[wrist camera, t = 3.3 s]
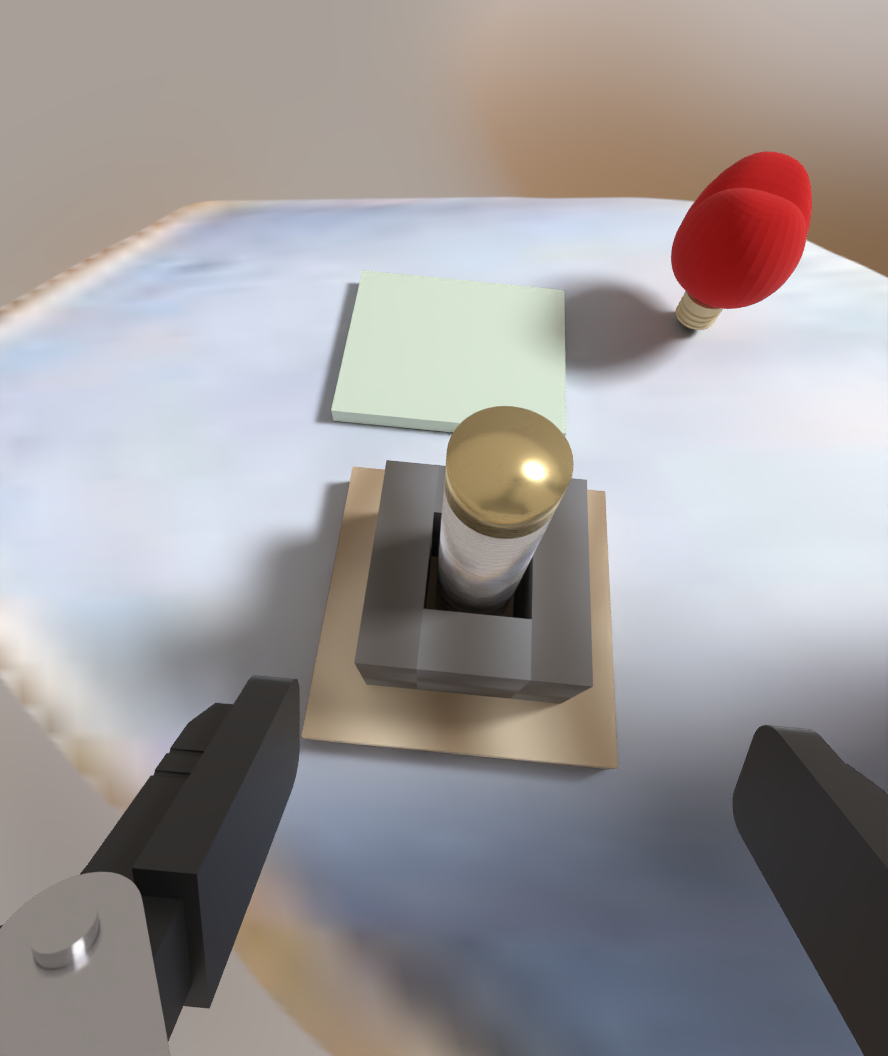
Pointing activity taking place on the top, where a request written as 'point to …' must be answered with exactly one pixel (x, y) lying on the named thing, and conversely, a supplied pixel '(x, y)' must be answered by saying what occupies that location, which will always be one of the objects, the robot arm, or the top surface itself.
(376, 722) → the stand
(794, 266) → the red rounded lobed piece
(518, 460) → the key peg
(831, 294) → the top surface
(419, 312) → the sage mat
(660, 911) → the top surface
